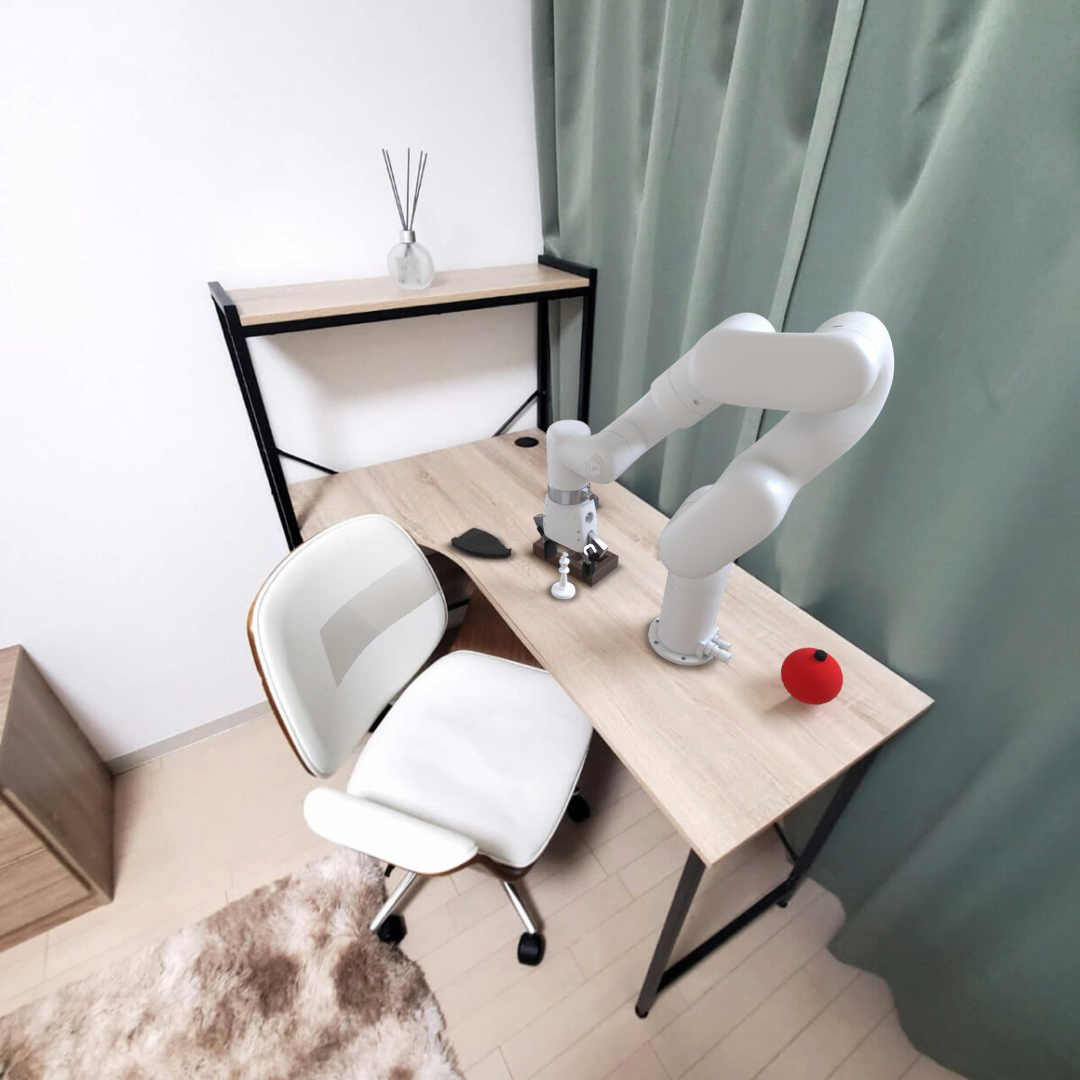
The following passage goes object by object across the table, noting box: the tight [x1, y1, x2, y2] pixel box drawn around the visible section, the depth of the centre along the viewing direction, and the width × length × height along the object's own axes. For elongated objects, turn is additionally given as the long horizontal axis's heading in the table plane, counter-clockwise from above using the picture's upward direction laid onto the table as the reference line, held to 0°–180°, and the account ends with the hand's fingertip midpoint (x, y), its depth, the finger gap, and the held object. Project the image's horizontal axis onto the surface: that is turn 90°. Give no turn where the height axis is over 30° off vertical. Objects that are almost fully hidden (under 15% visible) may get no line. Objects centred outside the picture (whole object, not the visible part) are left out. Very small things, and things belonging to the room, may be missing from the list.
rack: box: [532, 537, 619, 588], centre depth 117 cm, size 17×9×3 cm, turn 47°
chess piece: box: [551, 551, 576, 600], centre depth 106 cm, size 5×5×10 cm
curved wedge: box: [450, 527, 513, 559], centre depth 120 cm, size 8×14×2 cm, turn 52°
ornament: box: [780, 647, 844, 706], centre depth 85 cm, size 9×9×10 cm
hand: (569, 566), depth 104 cm, fingers open, 9 cm apart
